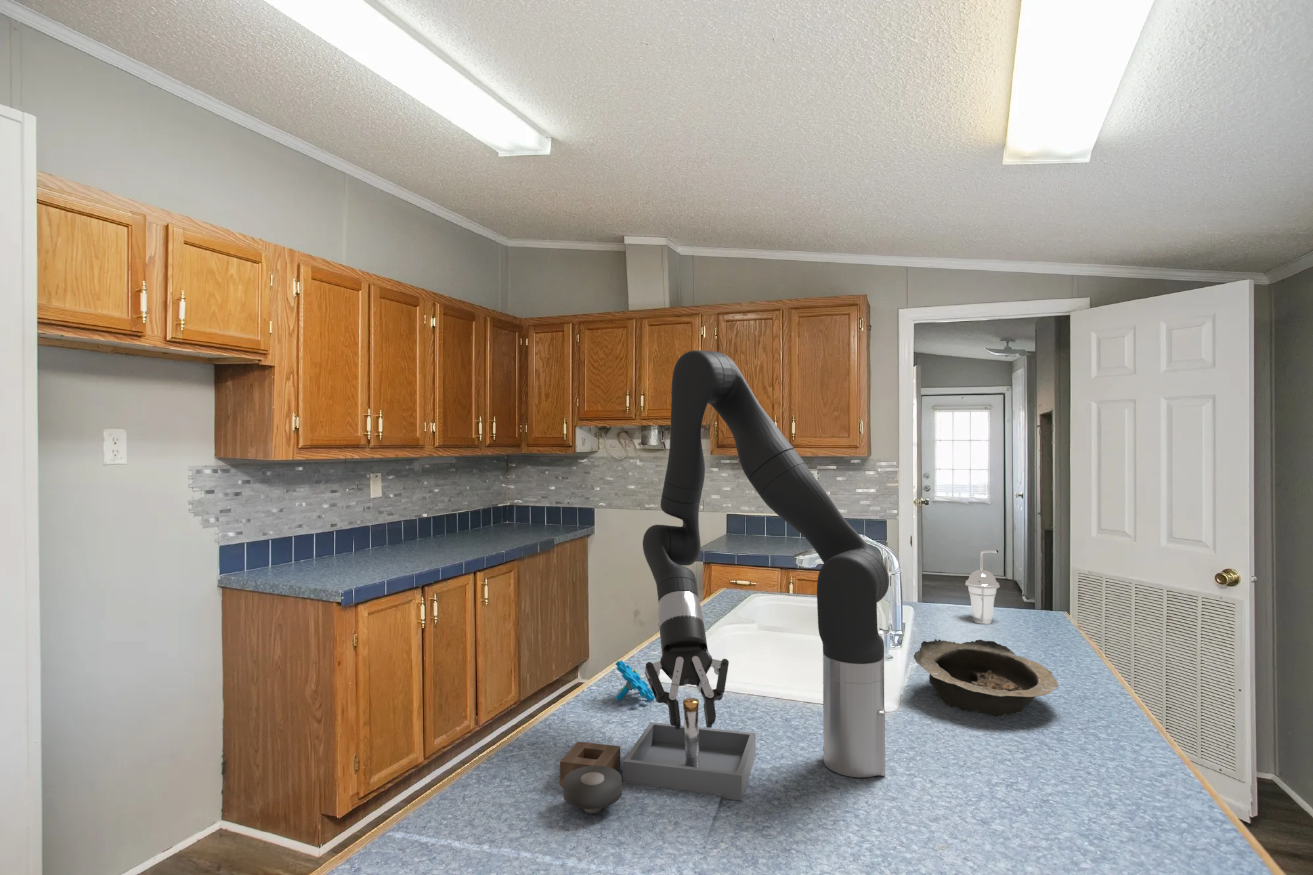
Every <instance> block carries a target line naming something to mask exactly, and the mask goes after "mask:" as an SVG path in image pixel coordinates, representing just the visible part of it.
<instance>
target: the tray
mask: <svg viewBox="0 0 1313 875" xmlns="http://www.w3.org/2000/svg"><path fill="white" fill-rule="evenodd" d="M756 735H757V734H756V732H748V731H739V730H728V729H719V728H712V727H711V728H707V727H703V726H702V727H699V758H700V766H699V767H698V768H697V767H689V766H685V732H684V724H683V725H682V724H681V726H680V729H677V730H675V726H671V724H670V723H662V722H651V721H650V722H649V723H648V725H647V726H646V728H645V729H644V730H643V732H642V733H641V735H640V736H639V738H638V739H637V740H636V742H635V743H634V745H633V747H632V748H631V749H630V751H629V752H628V754H627V755H626V756H625V758H624V759H623V761H622V766H623V768H622V769H623V770H622V772H623V773H622V775H623V778H622V780H623V783H624V784H625V783H626V784H632V785H640V786H641V785H642V786H647V787H649V786H650V787H657V788H662V789H663V788H664V789H672V790H680V791H687V792H695V793H700V794H701V793H702V794H710V795H716V796H717V795H719V796H721V799H725V800H732V801H740V802H741V801H743V799H744V798H743V797H744V795H745V791H746V788H747V785H748V782H749V778H750V775H751V772H752V770H753V765H754V763H755V758H756V755H757V753H756V752H757V747H756V745H757V744H756V743H757V740H756V739H757V738H756Z"/></svg>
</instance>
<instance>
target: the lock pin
mask: <svg viewBox="0 0 1313 875" xmlns="http://www.w3.org/2000/svg"><path fill="white" fill-rule="evenodd" d="M699 702H700V701H699V699H697V698H695V697H687V698H684V699H683V700H682V710H683V720H684V721H683V723H684V724H683V726H684V732H685V766H689V767H697V768H698V767H699V766H700V758H699V726H700V725H699V709H700V708H699V704H700V703H699Z"/></svg>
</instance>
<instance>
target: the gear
mask: <svg viewBox="0 0 1313 875" xmlns="http://www.w3.org/2000/svg"><path fill="white" fill-rule="evenodd" d="M615 666H616V670H617V671H618V672H619V673H621V674H622V675H621V676H622V678H623V679H624V680H625V681H626V683H625V685H624V686H623V687H622V688H621V689H620V692H619V693H618V694H617V695H616V697H615V699H616V700H617V701H618V702H621V700H622V699H623V698H624V697H625V696H626V695H627V694H628V692H630V691H632V690H637V691H638V695H639V696H640V697H641V698H642V699H643V698H644V699H646V700H647V701H648V702H649V703H650V702H652V701H653V700H654V699H655V697H654V694H653V692H652V689H651V688H649V687H648V686H649V684H648V683H647V682H646V681H645V680H643V679H642V678H641V676H640V674H639V672H638V671H637V670H636V669H634V670H633V668H632V667H631V666H630V665H629V664H626V663H625V661H623V660H618V661H617V662H616V663H615Z"/></svg>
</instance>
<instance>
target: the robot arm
mask: <svg viewBox="0 0 1313 875" xmlns="http://www.w3.org/2000/svg"><path fill="white" fill-rule="evenodd" d="M670 398H671V399H670V400H671V401H670V402H671V404H670V405H671V406H670V408H671V409H670V427H669V428H670V432H669V434H670V436H669V450H668V451H669V452H668V456H667V457H668V458H667V463H666V464H667V465H666V470H665V476H664V482H663V488H662V493H661V498H660V509H661V510H662V512H663V513H664V514H665V515H668V516H671V517H673V518H677V519H680V520H681V521H682V526H676V525H666V524H654V525H651V526H650V527H648V528H647V529H646V531H645V533H644V534H643V537H642V549H643V555H644V558H645V560H646V562H647V565H648V567H649V569H650V571H651V574H652V577H653V579H654V581H655V585H656V591H657V601H658V602H657V603H658V613H657V615H658V622H657V623H658V624H657V625H658V629H659V635H660V636H659V637H660V647H661V657H660V661H657V662H655V663H654V662H651V661H648V662H646V663H645V669H644V675H645V677H646V680H647V682H648V686H649V687H650V689H651V690H652V692H653V695H654V697H655V698H654V699H655V701H656V703H658V704H662V703H663V704H666V705H667V707H668V715H669V724H671V726H675V730H677V729H680V726H681V725H682V724H681V722H682V721H681V714H680V705H679V704H680V703H679V700H677V696H678V691H679V687H682V686H683V687H684V686H687V685H689V686H696V688H697V690H698V692H699V693H700V696H701V697H702V699H703V702H704V703H703V712H704V720H705V726H706V727H705V728H711V729H712V727H713V724H715V721H716V718H717V713H716V706H715V701H721V700H722V699H723V697H724V693H725V691H726V690H725V689H726V683H727V677H728V672H729V670H728V669H729V664H730V661H729V660H728V659H727V658H722V659H721V660H720V659H716V658H715V659H714V658H713V657H712V655H711V654H710V652H709V649H708V642H707V635H706V629H705V628H706V627H705V622H704V615H703V610H702V609H703V608H702V606H701V603H700V598H699V591H698V586H697V578H696V575H695V573H694V571H693V570H692V569H690V567H688V566H690V565H694V563H695V562H696V561H697V560H698V558H700V557H699V556H700V554H701V548H702V547H701V536H700V535H701V534H700V523H699V522H700V521H699V517H700V516H699V511H700V505H701V504H700V503H701V498H702V493H703V488H704V483H705V476H706V475H705V474H706V467H705V466H706V464H705V455H704V451H703V444H702V426H703V420H704V415H705V412H706V409H707V406H708V404H709V405H710V406H711V407H712V408H713V409H714V410H715V411H716V413H718V414H719V416H720V418H721V419H722V420H723V421H724V423H725V424H726V425H727V426H728V427H727V428H728V429H729V430H730V432H731V434H732V438H733V439H734V442H735V444H734V445H735V448H736V453H737V456H738V459H739V462H740V466H741V469H742V471H743V473H744V475H745V476H746V477H747V480H748V481H749V482H750V484H751V485H752V486H753V488H754V490H755V492H757V493H758V495H759V497H760V498H761V499H762V501H763V502H764V503H765V504H766V506H768V508H769V509H771V510H772V511H773V512H774V513H775V514H776V515H777V516H778V517H779V518H781V519H782V520H783V521H785V522H786V523H787V524H788V525H790V526H791V527H792V528H794V529H795V530H796V531H797V532H798V533H799V534H801V536H803V538H805V540H806V541H807V542H808V543H809V544H810V546H811V547H812V548H813V549H814V550H815V552H816V554H817V556H819V558H820V560H821V561H822V562H823V564H822V566H821V567H820V569H819V572H818V575H817V582H816V604H817V606H816V608H817V626H818V627H817V628H818V629H817V630H818V633H819V634H818V635H819V637H820V639H821V642H822V714H823V715H822V719H823V720H822V722H823V723H822V724H823V725H822V726H823V730H822V734H823V735H822V736H823V737H822V738H823V744H822V751H823V764H824V765H825V767H827V769H829V770H831V771H832V772H834V773H836V774H839V775H842V776H845V777H852V778H871V777H875V776H882V777H885V776H886V710H885V642H884V639H883V638H882V636H881V635H880V634H879V630H878V628H879V627H878V603H879V602H880V601H881V600H882V599H884V597H885V596H886V595H887V592H888V591H889V586H890V576H889V572H888V569H887V567H886V564H885V562H884V561H883V560H882V559H881V557H880V556H879V555H878V554H877V553H876V552H875V551H874V549H873V548H871V546H870V545H869V544H868V543H867V542H866V541H865V540H864V539H863V538H862V536H861V535H860V534H859V533H858V532H857V531H856V530H855V528H854V527H853V526H851V524H850V523H849V522H848V521H847V520H846V518H845V517H844V516H843V515H842V513H841V512H840V510H839V509H838V508H837V506H836V505H835V503H834V502H833V501H832V499H831V497H830V496H829V495H828V493H827V491H826V490H825V489H824V488H823V486H822V485H821V483H820V482H819V481H818V480H817V479H816V477H815V476H814V474H813V473H812V471H811V470H810V468H809V467H808V465H807V464H806V462H805V461H804V459H802V457H801V455H800V454H799V453H798V452H797V451H796V449H795V448H794V446H793V445H792V444H791V443H790V442H789V440H788V439H787V438H786V437H785V435H784V434H783V433H782V431H781V430H780V429H779V426H777V424H776V422H774V421H773V419H772V418H771V417H770V415H769V414H768V413H767V412H766V410H765V409H764V408H763V407H762V405H761V404H760V403H759V400H758V399H757V397H756V396H755V394H754V393H753V390H752V389H751V387H750V386H749V384H748V382H747V380H746V379H745V377H744V375H743V373H742V372H741V370H740V369H739V367H738V366H737V364H736V363H735V362H734V360H733V359H732V358H731V357H729V356H728V355H726V354H725V353H722V352H719V351H714V350H713V351H711V350H689V351H686V352H685V353H683V354H682V355H680V357H679V358H678V359H677V361H676V363H675V364H674V368H673V372H672V379H671V394H670ZM711 667H712V669H713V672H714V674H715V675H717V681H716V688H714V689H712V686H711V685H710V680H709V678H708V675H707V674H708V671H709V670H710V669H711ZM661 671H663V673H665V674H666V676H667V677H668V678H669V679H670V681H671V684H670V689H669V692H668V691H665V689H664V687H663V685H662V682H661V679H660V678H659V677H660V674H661Z"/></svg>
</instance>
